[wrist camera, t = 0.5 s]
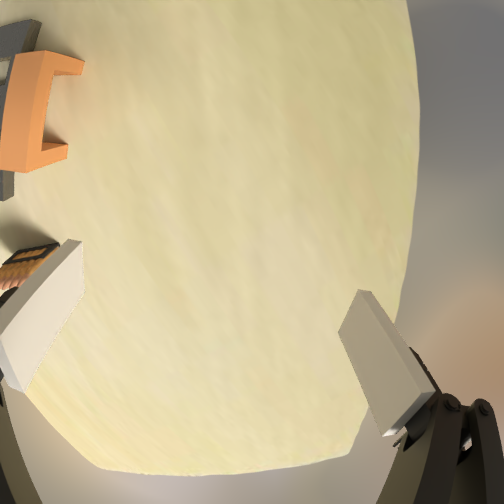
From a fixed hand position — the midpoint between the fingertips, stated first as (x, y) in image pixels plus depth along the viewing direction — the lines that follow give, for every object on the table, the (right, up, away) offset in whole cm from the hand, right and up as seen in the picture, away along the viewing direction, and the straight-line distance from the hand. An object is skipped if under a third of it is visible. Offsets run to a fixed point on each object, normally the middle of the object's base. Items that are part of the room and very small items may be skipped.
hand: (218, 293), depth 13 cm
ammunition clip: (-34, +2, +26) cm, 43 cm away
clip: (-25, +21, +17) cm, 37 cm away
